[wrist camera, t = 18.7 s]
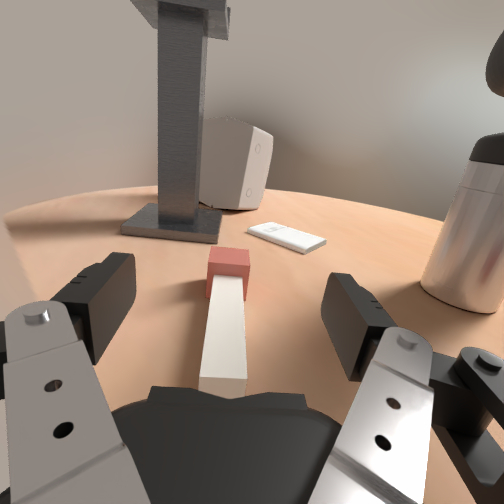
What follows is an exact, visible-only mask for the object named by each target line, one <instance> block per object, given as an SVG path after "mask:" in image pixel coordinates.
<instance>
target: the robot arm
mask: <svg viewBox="0 0 504 504" xmlns="http://www.w3.org/2000/svg"><path fill="white" fill-rule="evenodd" d="M486 81H487V84H488V87H489V88H490V89H491V91H492V92H494V93H495V94H497V95H499V96H502V97H504V31H503V33H502V34H501V35H500V37H499V38H498V40H497V42H496V43H495V45H494V47H493V49H492V51H491V53H490V56H489V59H488V62H487V66H486ZM469 160H471V161H469V162H468V164H467V166H466V168H465V171H464V173H463V176H462V178H461V181H460V183H459V186H458V189H457V191H456V194H455V196H454V199H453V201H452V204H451V206H450V209H449V211H448V214H447V216H446V219H445V221H444V224H443V226H442V229H441V231H440V234H439V236H438V239H437V241H436V244H435V246H434V249H433V251H432V254H431V256H430V258H429V261H428V263H427V266H426V268H425V271H424V274H423V276H422V279H421V281H420V284H421V286H422V287H423V289H424V290H426V291H427V292H428V293H429V294H431V295H432V296H434V297H436V298H438V299H439V300H441V301H444V302H446V303H448V304H450V305H453V306H456V307H459V308H462V309H465V310H469V311H473V312H479V313H493V312H496V311H497V310H498V308H499V306H500V304H501V302H502V300H503V299H504V133H498V134H492V135H488V136H484V137H482V138H481V139H479V140H478V141H477V143H476V144H475V146H474V148H473V151H472V153H471V156H470V158H469ZM135 297H136V269H135V257H134V255H133V254H129V253H118V252H112V253H111V254H110V255H109V256H108V257H107V258H106V259H105V260H104V261H103V262H102V263H95V264H93V265H91V266H89V267H87V268H84V269H83V270H82V271H81V272H80V273H79V274H78V275H77V277H75V278H73V279H72V280H71V281H70V283H68V284H67V285H66V286H65V287H63V288H62V289H61V290H60V291H59V292H58V293H57V294H56V295H55V296H54V297H52V298H51V299H50V300H49V301H38V302H33V303H30V304H26V305H24V306H21V307H19V308H17V309H15V310H14V311H12V312H11V313H10V314H9V315H8V316H7V317H6V319H5V321H1V322H0V400H1V399H5V406H6V423H7V439H8V454H9V455H8V457H9V474H10V487H9V488H7V489H6V490H5V491H3V492H2V493H1V494H0V504H424V503H423V502H422V501H423V492H424V483H425V473H426V464H427V455H428V445H429V436H430V427H431V426H432V428H433V430H434V431H435V433H436V435H437V437H438V438H439V440H440V442H441V443H442V445H443V447H444V449H445V450H446V452H447V454H448V455H449V457H450V459H451V461H452V462H453V464H454V466H455V467H456V469H457V471H458V472H459V474H460V476H461V478H462V479H463V481H464V483H465V484H466V486H467V488H468V490H469V491H470V493H471V495H472V496H473V498H474V500H475V502H476V503H477V504H504V452H503V450H502V449H501V448H500V446H499V445H498V444H497V442H496V441H495V440H494V439H493V437H492V436H491V435H490V433H489V432H488V431H487V429H486V428H487V427H488V425H489V424H490V422H491V421H492V419H493V418H495V420H496V421H497V422H498V423H499V425H500V426H501V427H502V428H503V429H504V360H503V359H501V358H500V357H498V356H496V355H494V354H492V353H490V352H488V351H485V350H482V349H479V348H475V347H465V348H463V349H462V350H461V352H460V354H459V355H458V357H457V358H454V357H450V356H447V355H443V354H439V353H436V352H433V349H432V347H431V345H430V344H429V343H428V341H426V340H425V339H424V338H423V337H422V336H420V335H418V334H417V333H415V332H413V331H410V330H408V329H405V328H400V327H398V326H397V325H396V323H395V322H394V321H393V320H392V318H391V317H390V316H389V315H388V313H387V312H386V311H385V310H384V309H383V307H382V306H381V305H380V303H378V301H377V300H376V298H375V297H374V296H373V295H372V293H370V292H369V291H367V290H366V289H364V288H363V287H362V286H359V285H358V284H357V282H356V281H355V280H354V278H353V277H352V276H351V275H350V274H344V273H333V272H332V273H331V274H330V275H329V278H328V281H327V285H326V289H325V293H324V297H323V301H322V305H321V316H322V320H323V322H324V324H325V327H326V329H327V331H328V334H329V336H330V338H331V341H332V343H333V345H334V347H335V350H336V352H337V354H338V357H339V359H340V361H341V364H342V366H343V368H344V371H345V373H346V375H347V378H348V380H349V381H355V382H361V385H360V387H359V389H358V391H357V394H356V396H355V398H354V401H353V403H352V405H351V408H350V410H349V412H348V414H347V417H346V419H345V421H344V424H343V426H342V425H340V424H339V423H338V422H336V421H335V420H333V419H332V418H330V417H329V416H327V415H325V414H323V413H321V412H319V411H316V410H314V409H311V408H308V407H307V404H306V400H305V396H304V394H291V393H272V392H267V393H261V394H256V395H250V396H245V397H239V398H234V399H227V398H223V397H220V396H216V395H213V394H209V393H206V392H202V391H199V390H195V389H192V388H179V387H160V386H152V387H151V390H150V393H149V396H148V399H146V400H141V401H137V402H134V403H130V404H128V405H125V406H123V407H120V408H118V409H116V410H114V411H112V412H110V409H109V406H108V404H107V401H106V399H105V396H104V394H103V391H102V388H101V386H100V383H99V381H98V378H97V376H96V373H95V370H94V368H93V365H96V364H97V363H98V361H99V359H100V358H101V356H102V354H103V353H104V351H105V349H106V348H107V346H108V344H109V343H110V341H111V340H112V338H113V336H114V335H115V333H116V331H117V330H118V328H119V326H120V325H121V323H122V321H123V320H124V318H125V316H126V315H127V313H128V311H129V310H130V308H131V307H132V305H133V303H134V300H135Z"/></svg>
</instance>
